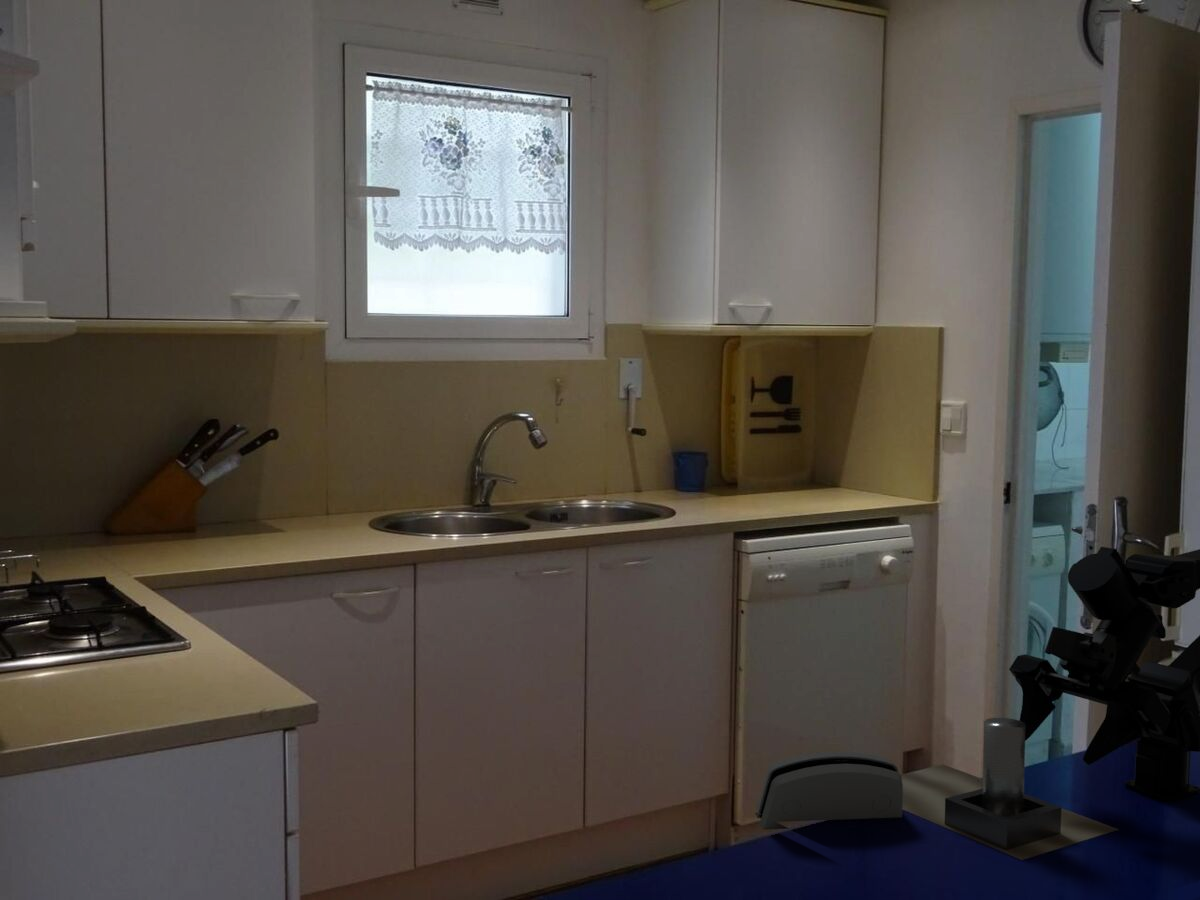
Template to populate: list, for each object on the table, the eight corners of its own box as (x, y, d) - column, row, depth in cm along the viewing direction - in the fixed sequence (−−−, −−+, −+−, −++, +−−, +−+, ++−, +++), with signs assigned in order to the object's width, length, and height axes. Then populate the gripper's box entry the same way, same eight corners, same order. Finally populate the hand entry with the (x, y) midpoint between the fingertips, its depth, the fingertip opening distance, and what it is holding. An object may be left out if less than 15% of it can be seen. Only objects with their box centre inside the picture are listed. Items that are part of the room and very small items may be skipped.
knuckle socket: (997, 809, 156) (998, 784, 156) (1060, 833, 149) (1061, 807, 148) (944, 824, 151) (945, 798, 151) (1006, 850, 144) (1007, 823, 144)
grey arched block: (890, 810, 159) (901, 741, 155) (902, 837, 155) (914, 768, 150) (751, 815, 157) (759, 746, 153) (760, 843, 153) (768, 772, 149)
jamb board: (942, 771, 172) (943, 764, 172) (1118, 838, 150) (1118, 829, 150) (850, 795, 163) (850, 787, 163) (1021, 868, 141) (1022, 859, 141)
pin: (989, 818, 153) (991, 715, 152) (1028, 826, 150) (1030, 721, 149) (976, 830, 149) (978, 724, 148) (1016, 838, 147) (1018, 731, 146)
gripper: (1022, 588, 162) (955, 691, 158) (1159, 617, 147) (1090, 732, 142) (1062, 643, 167) (999, 745, 163) (1199, 677, 152) (1134, 790, 147)
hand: (1051, 751), depth 153 cm, fingers open, 9 cm apart
